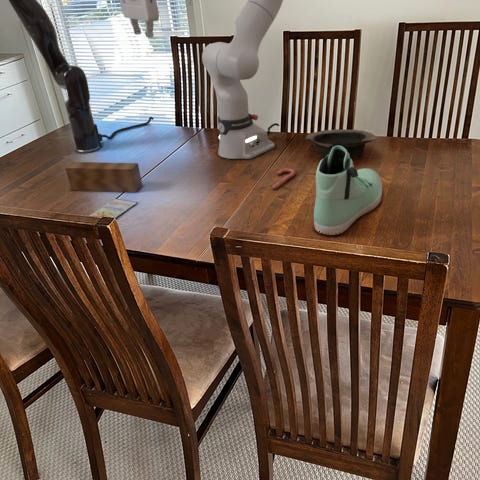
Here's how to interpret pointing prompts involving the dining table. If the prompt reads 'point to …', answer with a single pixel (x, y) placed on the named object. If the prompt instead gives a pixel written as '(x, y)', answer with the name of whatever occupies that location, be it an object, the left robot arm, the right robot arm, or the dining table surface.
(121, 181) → the bar
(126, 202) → the baking ingredient package
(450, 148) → the dining table surface
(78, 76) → the left robot arm
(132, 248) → the dining table surface
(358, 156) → the stone bowl
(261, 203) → the dining table surface
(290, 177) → the candy cane
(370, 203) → the sneaker
